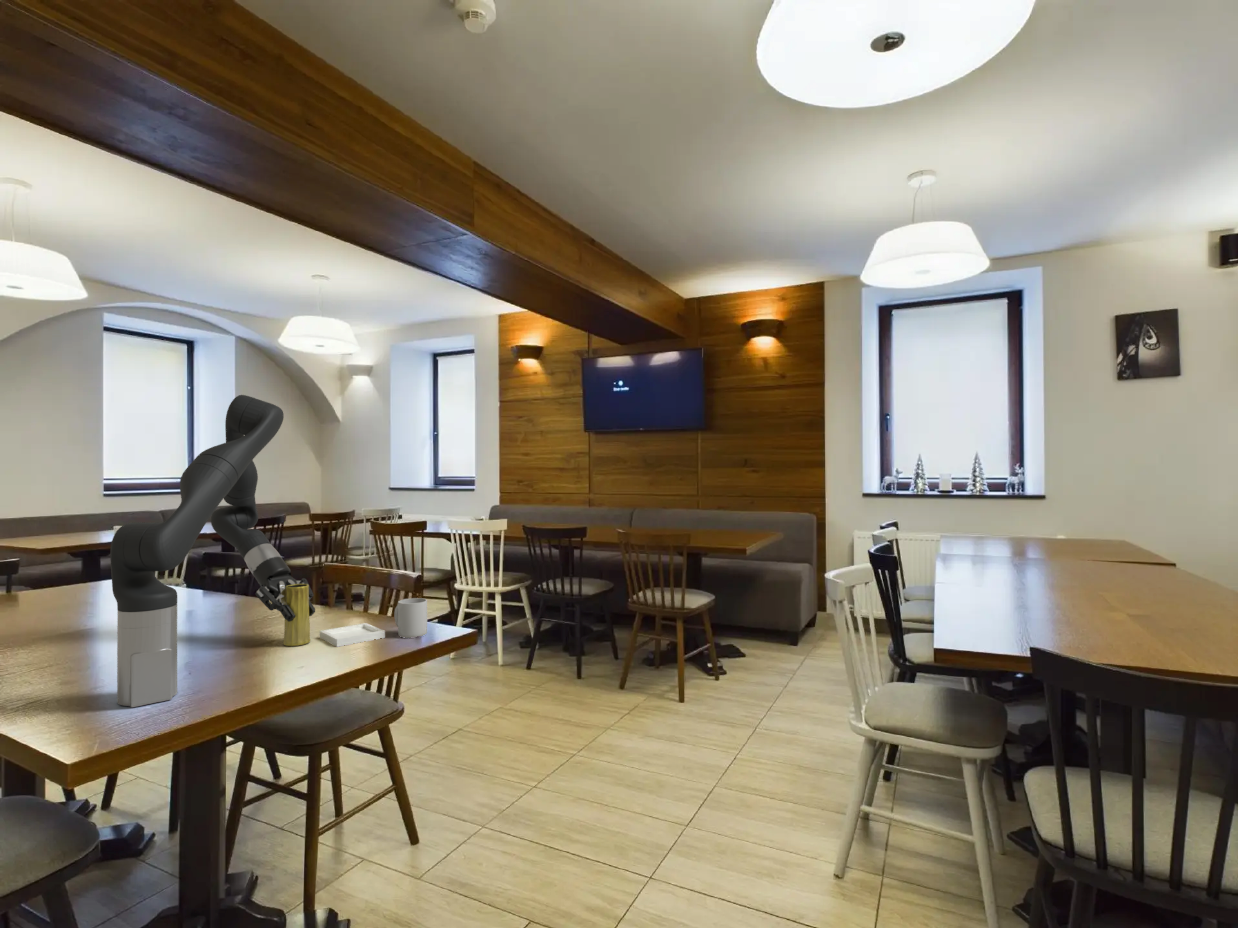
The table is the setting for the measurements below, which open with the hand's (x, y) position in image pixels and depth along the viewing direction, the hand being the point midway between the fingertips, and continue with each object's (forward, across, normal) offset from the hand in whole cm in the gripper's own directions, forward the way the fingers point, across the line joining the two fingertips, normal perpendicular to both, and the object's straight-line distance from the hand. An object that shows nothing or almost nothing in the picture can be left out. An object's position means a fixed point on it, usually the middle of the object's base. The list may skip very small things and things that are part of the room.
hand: (302, 616), depth 160 cm
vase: (+4, 0, -6) cm, 7 cm away
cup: (+18, -17, +8) cm, 26 cm away
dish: (+10, -9, 0) cm, 13 cm away
